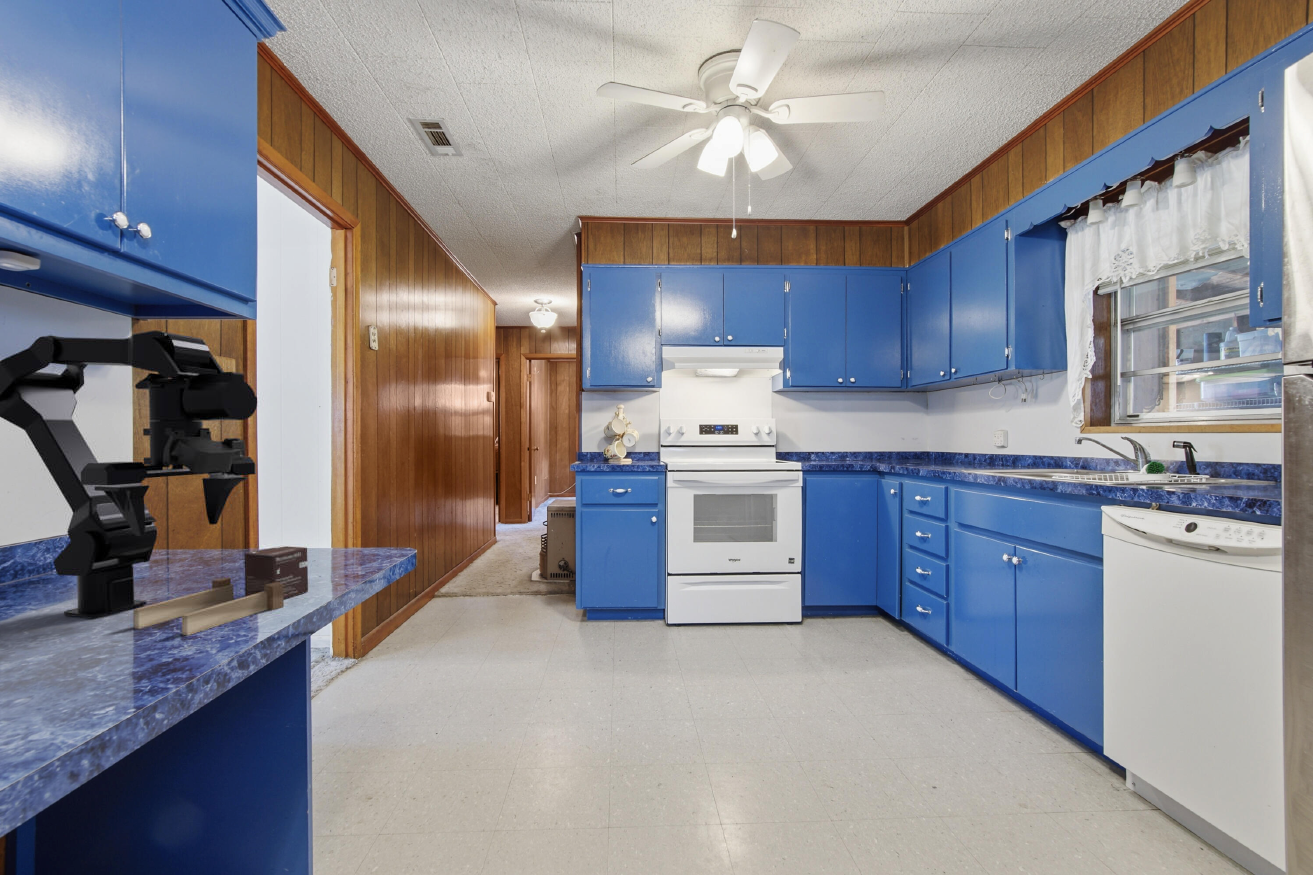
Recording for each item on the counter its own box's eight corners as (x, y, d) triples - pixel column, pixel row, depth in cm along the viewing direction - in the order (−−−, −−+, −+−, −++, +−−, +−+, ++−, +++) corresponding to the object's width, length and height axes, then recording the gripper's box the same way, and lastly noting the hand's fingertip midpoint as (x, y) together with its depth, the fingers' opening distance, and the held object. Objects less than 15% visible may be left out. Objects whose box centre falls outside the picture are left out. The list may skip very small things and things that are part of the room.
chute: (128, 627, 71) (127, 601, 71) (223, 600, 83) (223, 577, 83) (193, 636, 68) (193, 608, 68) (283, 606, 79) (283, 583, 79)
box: (272, 603, 81) (272, 555, 81) (243, 600, 83) (242, 553, 83) (309, 592, 87) (308, 547, 87) (281, 589, 89) (280, 545, 88)
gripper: (136, 419, 66) (138, 545, 66) (281, 421, 83) (283, 521, 84) (76, 420, 69) (79, 541, 69) (229, 422, 87) (230, 518, 87)
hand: (178, 529), depth 77 cm, fingers open, 9 cm apart
